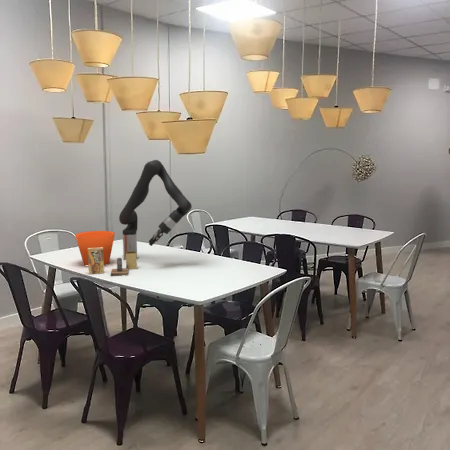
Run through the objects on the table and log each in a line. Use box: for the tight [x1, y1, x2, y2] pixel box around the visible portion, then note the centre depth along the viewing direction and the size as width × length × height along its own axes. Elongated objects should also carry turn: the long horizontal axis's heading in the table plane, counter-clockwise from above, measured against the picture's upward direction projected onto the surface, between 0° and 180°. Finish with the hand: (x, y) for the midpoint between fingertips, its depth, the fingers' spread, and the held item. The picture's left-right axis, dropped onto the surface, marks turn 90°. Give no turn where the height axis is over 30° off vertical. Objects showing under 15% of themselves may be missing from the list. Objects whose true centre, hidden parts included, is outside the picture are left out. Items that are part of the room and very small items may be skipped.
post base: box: [110, 257, 130, 277], centre depth 292 cm, size 12×10×10 cm
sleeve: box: [125, 251, 138, 270], centre depth 305 cm, size 6×6×10 cm
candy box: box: [88, 247, 105, 275], centre depth 292 cm, size 9×4×15 cm, turn 104°
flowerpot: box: [74, 230, 116, 266], centre depth 317 cm, size 25×25×20 cm
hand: (149, 243), depth 305 cm, fingers open, 8 cm apart
